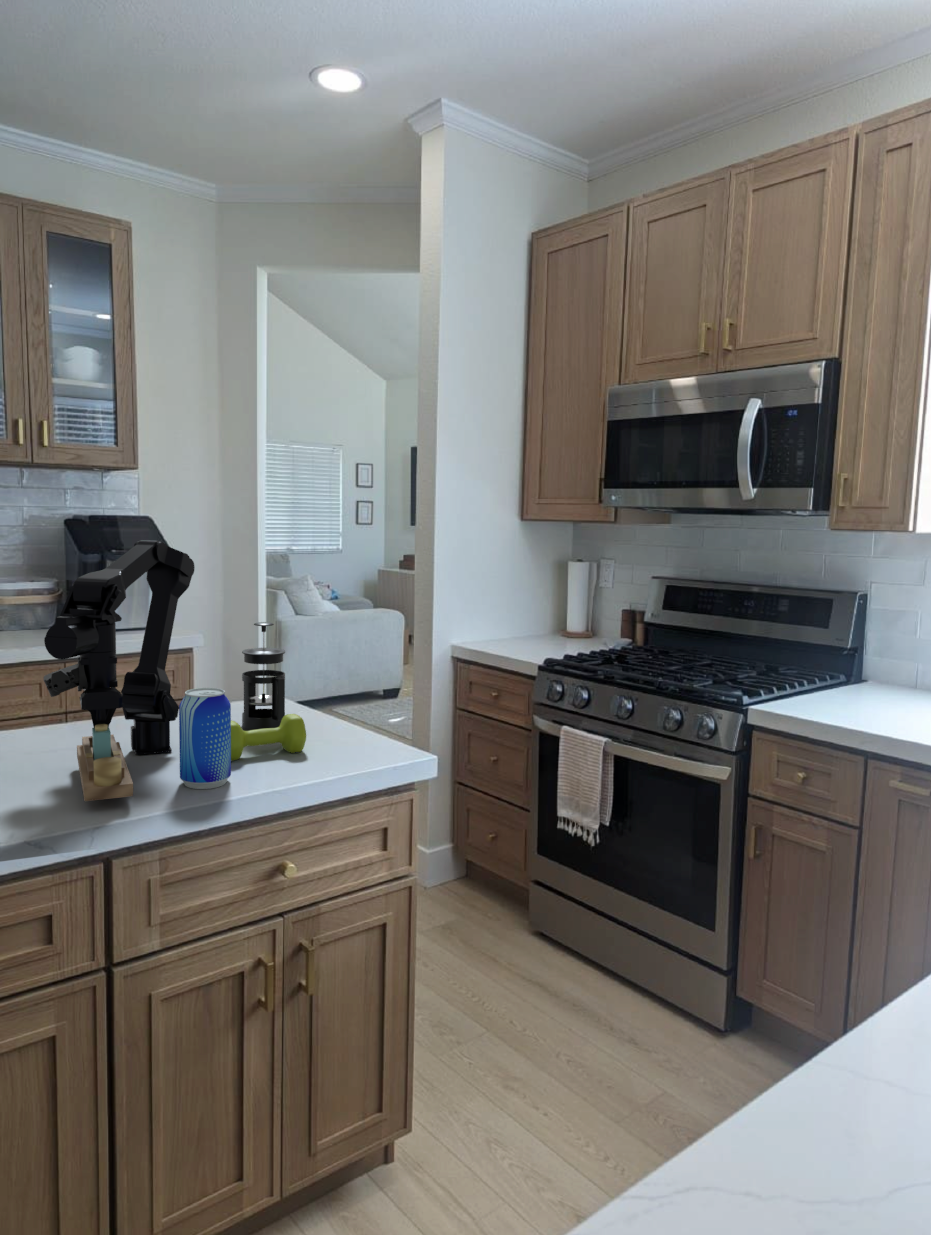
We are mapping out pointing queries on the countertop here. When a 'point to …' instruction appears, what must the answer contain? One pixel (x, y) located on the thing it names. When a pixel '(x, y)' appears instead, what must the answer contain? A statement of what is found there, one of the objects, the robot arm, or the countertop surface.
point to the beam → (103, 772)
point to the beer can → (205, 738)
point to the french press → (263, 717)
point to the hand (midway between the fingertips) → (99, 739)
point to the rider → (101, 741)
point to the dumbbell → (270, 736)
